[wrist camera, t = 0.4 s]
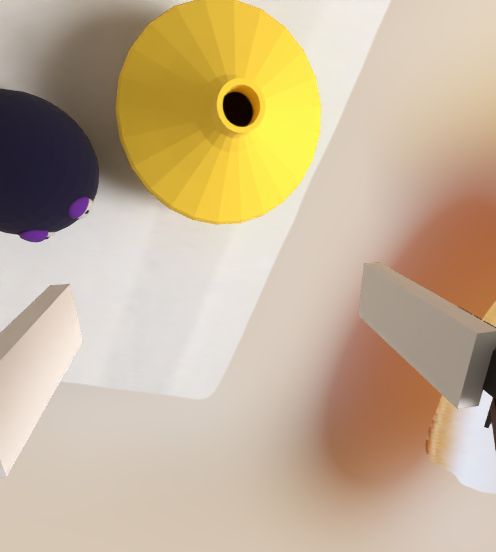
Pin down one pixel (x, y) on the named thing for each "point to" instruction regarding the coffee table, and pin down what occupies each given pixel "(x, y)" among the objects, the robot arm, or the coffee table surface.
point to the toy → (42, 168)
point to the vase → (218, 111)
